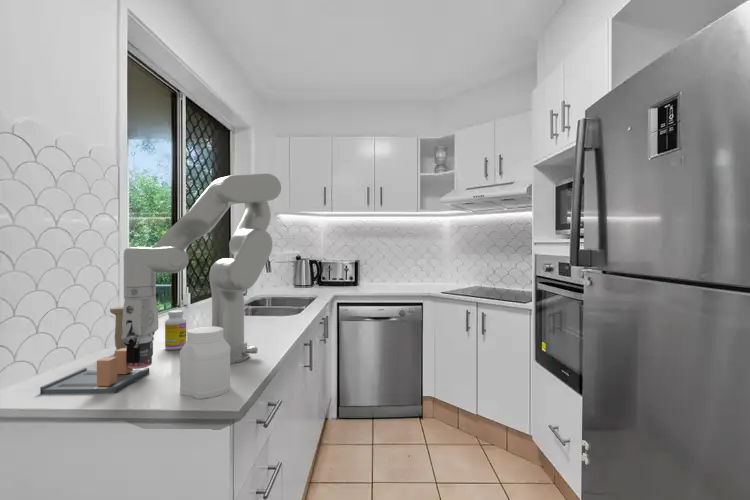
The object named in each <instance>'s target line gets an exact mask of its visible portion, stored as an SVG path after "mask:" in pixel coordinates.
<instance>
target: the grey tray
mask: <svg viewBox="0 0 750 500" xmlns="http://www.w3.org/2000/svg"><path fill="white" fill-rule="evenodd" d="M87 369H88V368H86V367H84V368H81V369H79V370H77V371H74V372H72V373H69V374H67V375H65V376H63V377H60V378H58V379H56V380H54V381H51V382H49V383H47V384H44V385H42V386H40V387H39V390H40V391H39V392H40V394H41V395H44V394H45V395H46V394H49V395H51V394H58V395H59V394H61V395H62V394H117V393H119V392H121V391H122V390H123V389H125V388H128V387H129V386H131V385H132V384H134V383H135V382H138V381H139V380H141V379H143V378H144V377H146V376H148V375H150V368H149V367H145V368H142V369H133V371H131V372H129V373H127V374H117V382H115V383H113V384H112V385H110V386H97V369H96V370H95V369H94V370H93V369H92V370H87Z"/></svg>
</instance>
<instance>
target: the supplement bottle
mask: <svg viewBox="0 0 750 500" xmlns="http://www.w3.org/2000/svg"><path fill="white" fill-rule="evenodd" d="M167 315H168V318H167V319H166V320H165V322H164V348H165V350H168V351H169V350H170V351H175V350H176V351H177V350H181V349H182V348H183V346H184V345H185V343H186V342H187V319H186V318H185V317H183V315H184V310H181V309H179V310H176V309H175V310H170V311H168V314H167Z"/></svg>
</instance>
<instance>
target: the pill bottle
mask: <svg viewBox="0 0 750 500" xmlns="http://www.w3.org/2000/svg"><path fill="white" fill-rule="evenodd" d="M131 336H136V335H135V334H131ZM131 339H133V341H134V342H135V338H131ZM152 342H153V341H152V338H151V337H150V336H149V334H148V335H146V336H143V337H140V340H139V345H138V347H140V362H139V363H128V367H129V368H131V369H133V370H140V369H145V368H149V367H150V366H152V364H153V355H152Z"/></svg>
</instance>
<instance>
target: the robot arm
mask: <svg viewBox="0 0 750 500" xmlns="http://www.w3.org/2000/svg"><path fill="white" fill-rule="evenodd" d="M281 192H282V183H281V180H280V179H278V177H277V176H275V175H274V174H271V173H256V174H255V173H254V174H235V175H234V174H233V175H227V176H223V177H219V178H217V179H215V180H213V181H212V182H211V183H210V184H209V185H208V187H207V188H206V189H205V190H204V191H203V192H202V194H201V195H200V196H199V198H198V199H197V200H195V203H194V204H193V205H192V206H191V207H190V208H189V210H188V211H187V212H186V213H184V215H183V216H181V217H180V218H179V220H178V221H177V222H175V223H174V224H173V225H172V226H171V227H170V228H169V229H168V230H167V231H166V232H165V233H164V234H163V235H162V237H160V239H159V240H158V241H157V243H156V244H155V245H154V246H153V247H149V246H133V247H131V246H130V247H127V248H125V249H124V251H123V300H124V302H123V306H122V307H123V320H122V330H123V334H122V336H121V339H122V340H123V342H124V344H125V348H127V363H139V362H140V347H138V345H139V340H140V337H143V336H146V335H148V334H149V336H150V337H151V338H152V356H153V355H154V347H153V346H154V342H153V341H154V339H155V338H154V335H155V333H156V332H157V330H159V309H158V303H157V297H156V296H157V295H156V293H157V291H156V288H157V286H156V281H157V280H156V277H157V276H156V275H157V273H163V274H164V273H166V274H177V273H180V272H183V270H185V269H186V267H188V265H189V261H190V258H189V255H188V253H187V251H185V250H186V249H188V248H187V247H189V245H191V244H192V243H193V242H195V241H196V240H197V239H199V238H201V237H203V236H205V235H207V234H208V233H209V232H211V231H212V230H214V228H215V227H216V225H218V223H219V222H220V220H221V219H222V218H223V216H224V215H225V213H226V212H227V211H228V210H229V209H230V207H231V206H232V205H236V204H244V209H245V210H244V214H243V216H242V218H241V221H240V222H239V224H238V226H237V227H236V229H235V231H234V233H233V234H232V236H231V238H230V240H229V243H228V244H229V245H228V248H229V251H230V253H231V255H233V256H235V257H233V258H230V257H229V258H228V257H227V258H226V257H225V258H221V259H218V260H217V261H215V262H214V263H213V264H212V265H211V266H210V270H209V278H208V279H209V285H210V292H211V327H222V328H223V337H224V339H225V340H226V342H227V343H228V344H229V346H230V348H231V352H230V364H235V362H236V363H239V362H238V361H240V362H243V361H242V360H244V361H246V360H247V358H248V357H249V358H250V354H253V355H254V354H255V355H256V354H258V347H257V346H255V345H253V346H249V345H248V342H247V341H245V297H244V292H243V291H246V290H249V289H251V287H253V286H254V285H255V284H256V282H257V281H258V279H259V277H260V275H261V273H262V272H263V270H264V268H265V265H266V264H267V261H268V260H269V258H270V256H271V253H272V251H273V239H272V236H271V234H270V233H269V232H268V231H267V230H268V227H269V225H270V223H271V219H272V215H271V209H270V205H269V201H273V200H275V199H277V198H278V197H279V196H280V194H281ZM131 334H135V335H136V336H131ZM131 338H135V342H134V341H133V339H131ZM249 358H248V359H249ZM245 359H246V360H245Z"/></svg>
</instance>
